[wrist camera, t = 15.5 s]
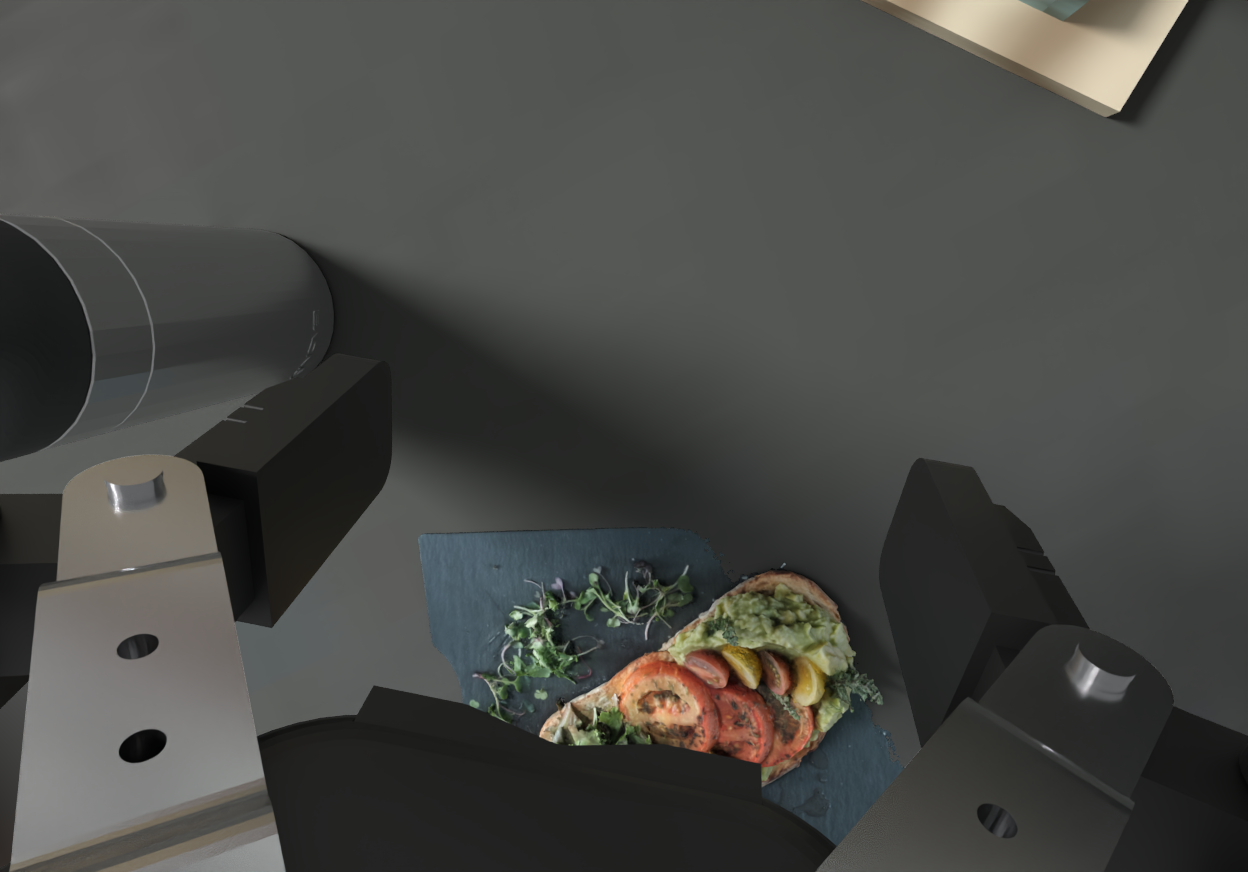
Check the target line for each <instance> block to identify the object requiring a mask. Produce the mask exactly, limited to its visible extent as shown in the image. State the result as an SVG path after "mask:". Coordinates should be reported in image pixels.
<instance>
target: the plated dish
mask: <svg viewBox="0 0 1248 872" xmlns="http://www.w3.org/2000/svg"><path fill="white" fill-rule="evenodd" d="M696 532H697V531H696ZM705 539H706V540H702V539H701V538H699V536H698V534H696V533H693V532H692V531H691V530H689V529H688V531H686V532H685V530H684V529H678V530H677V529H675V528H670V529H668V528H665V527H661V528H646V527H639V528H634V527H631V528H599V529H565V530H563V529H561V530H541V531H539V530H534V531H532V530H531V531H530V530H529V531H528V530H526V531H525V530H523V531H500V532H498V531H497V532H494V531H493V532H471V533H470V532H468V533H466V532H465V533H463V532H461V533H446V534H445V533H431V534H430V533H427V534H422V535H421V536H419V539H418V542H419V547H420V556H421V565H422V569H423V570H422V571H423V580H424V582H425V583H424V586H425V595H426V602H427V608H428V616H429V622H430V630H431V631H430V633H431V638H432V643H433V645H434V646H435V647H436V648H437V649H438V651H440V652H441V653H442V654H443V655H444V656H445V657H446V659H447V660H448V661H449V663H450V664H451V665H452V668H453V669H454V671H455V673H456V675H457V677H458V680H459V684H460V686H461V690H462V695H463V704H467V705H470V706H472V707H474V708H476V709H478V710H481V711H483V712H485V713H487V714H490V715H492V716H494V717H496V718H499V719H501V720H503V721H505V722H508V723H510V724H512V725H514V726H517V727H519V728H521V729H523V730H525V731H528V732H530V733H532V734H534V735H537V736H539V737H541V738H543V739H546V740H548V741H550V742H553V743H556V744H561V745H638V744H666V745H671V746H676V747H681V748H686V749H690V750H695V751H700V752H705V753H710V754H715V755H720V756H725V757H730V758H735V759H740V760H745V761H750V762H755V763H760V764H761V778H762V797H763V798H765V799H767V800H769V801H771V802H774V803H776V804H778V805H779V806H781V807H783V808H785V809H786V810H788V811H790V812H792V813H793V814H795V815H797V816H798V817H800V818H801V819H803V820H804V821H806V822H807V823H808V824H810V825H811V826H813V827H814V828H816V829H817V830H818V831H820V832H821V833H822V834H823V835H825V836H826V837H827V838H828V839H829V840H830V841H832V842H833V843H834V844H835V845H836V846H838V845H839V843H840V842H841V841H842V840H843V839H844V838H845V836H846V835H847V834H848V833H849V832H850V831H851V830H852V828H853V827H854V826H855V825H856V824H857V823H858V821H859V820H860V819H861V818H862V817H863V816H864V814H865V813H866V812H867V811H868V810H869V809H870V807H871V806H872V805H873V804H874V803H875V802H876V801H877V799H878V798H879V797H880V796H881V795H882V794H883V792H884V791H885V790H886V789H887V788H888V787H889V785H890V784H891V783H892V782H893V781H894V780H895V778H896V777H897V776H898V775H899V774H900V773H901V772H902V770H903V769H904V766H903V767H901V765H900V762H899V761H898V760H897V761H895V762H891V760H890V759H889V758H890V753H889V752H888V747H889V742H888V740H889V739H888V740H887V739H886V736H887V735H888V737H889V738H890V736H891V733H889V732H888V731H887V730H883V729H882V728H880V726H879V725H875V726H876V727H877V728H875V727H874V726H873V722H872V720H871V717H872V711H871V710H870V709H869V708H868V706H867V705H866V704H865V703H864V702H867V701H865V699H866V698H867V696H868V695H867V694H866V693H868V694H869V695H870V696H873V697H871V698H872V699H871V698H870V697H868V700H870V701H871V702H873V699H874V700H875V699H877V701H876V702H877V704H878V705H879V704H882V705H883V702H882V697H883V696H881V695H880V692H879V693H876V690H877V691H878V689H877V688H876V686H875V685H874V681H873V680H874V679H871V680H868V679H867V678H866V676H867V673H866V674H860V673H859V672H858V671H857V670H856V669H855V666H854V665H855V664H854V661H853V656H856V655H855V654H856V652H854V651H853V650H852V649H851V647H850V645H849V641H850V638H849V636H848V635H847V634H848V629H847V626H846V624H845V623H844V621H843V620H842V619H841V617H840V615H839V612H838V611H837V608H838V605H837V604H836V603H835V602H834V601H832V600H831V599H830V598H829V597H828V596H827V595H826V594H825V593H824V592H823V591H822V590H821V588H820V587H819V586H818V585H817V584H816V583H815V582H813V581H812V580H810V579H808V578H806V577H804V576H803V575H799V574H796V573H793V572H791V571H787V570H785V569H784V568H783V566H785V565H786V563H784V564H783V565H782V566H781V567H780V568H779V569H777V570H775V569H773V568H772V569H771V570H770V571H768V572H765V573H762V574H759V575H757V574H758V573H755V572H754V573H752V574H751V575H744V574H742V575H741V576H740V579H739V580H738V581H737V582H735V583H732V582H731V581H730V580H731V579H730V578H728V576H727V575H725V574H724V571H723V569H721V566H720V563H721V561H720V560H716V559H717V558H718V557H716V556H715V558H712V557H713V556H714V555H716V554H715V553H714V552H713V550H712V549H710V546H708V545H707V544H706V543H707V542H710V541H709V538H708V539H707V538H705ZM704 549H707V550H708V551H709V552H705V550H704ZM724 555H725V554H722V553H721V552H720V557H721V556H724ZM729 563H730V562H729ZM730 571H731V570H729V571H728V572H727V573H728V574H729V572H730ZM732 573H734V571H733V570H732ZM731 586H732V587H731ZM735 586H736V587H735ZM857 664H858V663H857ZM871 683H873V685H872V686H871ZM869 688H870V689H869ZM871 688H872V689H871ZM863 691H864V692H866V693H864V692H863ZM878 695H879V696H880V697H879V696H878ZM561 698H562V699H565V700H564V701H563V702H561V700H560V699H561ZM559 700H560V701H559ZM874 703H875V702H874ZM869 710H870V711H869ZM879 731H880V732H879ZM875 732H876V733H875ZM891 746H893V747H891ZM881 747H882V748H881ZM890 747H891V749H892V750H893V755H895V753H894V751H896V750H895V746H894V744H893V742H892V740H891V739H890ZM897 757H899V756H897ZM891 759H892V758H891ZM892 760H893V759H892ZM824 807H825V808H824Z"/></svg>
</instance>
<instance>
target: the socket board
mask: <svg viewBox="0 0 1248 872" xmlns="http://www.w3.org/2000/svg"><path fill="white" fill-rule="evenodd" d="M861 1H863V2H866V3H868V4H870V5H872V6H874V7H876V8H878V9H880V10H882V11H884V12H886V13H888V14H891V15H893V16H895V17H897V18H899V19H901V20H903V21H905V22H907V23H909V24H911V25H914V26H916V27H918V28H920V29H922V30H924V31H926V32H928V33H930V34H932V35H934V36H936V37H939V38H941V39H943V40H945V41H947V42H949V43H951V44H953V45H955V46H957V47H959V48H962V49H964V50H966V51H968V52H970V53H972V54H974V55H976V56H978V57H980V58H982V59H984V60H987V61H989V62H991V63H993V64H995V65H997V66H999V67H1001V68H1003V69H1005V70H1007V71H1010V72H1012V73H1014V74H1016V75H1018V76H1020V77H1022V78H1024V79H1026V80H1028V81H1030V82H1032V83H1035V84H1037V85H1039V86H1041V87H1043V88H1045V89H1047V90H1049V91H1051V92H1053V93H1055V94H1058V95H1060V96H1062V97H1064V98H1066V99H1068V100H1070V101H1072V102H1074V103H1076V104H1078V105H1080V106H1083V107H1085V108H1087V109H1089V110H1091V111H1093V112H1095V113H1097V114H1099V115H1101V116H1103V117H1108V116H1110V115H1113V114H1115V113H1118V112H1120V110H1121V109H1122V107H1123V105H1124V104H1125V102H1126V101H1127V99H1128V97H1129V96H1130V94H1131V93H1132V91H1133V89H1134V88H1135V86H1136V84H1137V83H1138V81H1139V80H1140V78H1141V76H1142V75H1143V73H1144V71H1145V70H1146V68H1147V67H1148V65H1149V63H1150V62H1151V60H1152V58H1153V57H1154V55H1155V54H1156V52H1157V50H1158V49H1159V47H1160V46H1161V44H1162V42H1163V41H1164V39H1165V37H1166V36H1167V34H1168V33H1169V31H1170V29H1171V28H1172V26H1173V24H1174V23H1175V21H1176V20H1177V18H1178V16H1179V15H1180V13H1181V11H1182V10H1183V8H1184V7H1185V5H1186V3H1187V2H1188V0H861Z"/></svg>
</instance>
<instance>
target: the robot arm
mask: <svg viewBox="0 0 1248 872" xmlns="http://www.w3.org/2000/svg"><path fill="white" fill-rule="evenodd" d="M333 325H334V310H333V303H332V296H331V294H330V291H329V288H328V285H327V282H326V279H325V278H324V276H323V274H322V272H321V271H320V269H319V267H318V265H317V264H316V263H315V262H314V261H313V259H312V258H311V257H310V256H309V255H308V254H307V252H306V251H304V250H303V249H302V248H301V247H299V246H298V245H297V244H296V243H294V242H293V241H291V240H289V239H287V238H285V237H283V236H281V235H279V234H277V233H273V232H269V231H265V230H258V229H242V228H227V227H214V226H199V225H183V224H167V223H151V222H135V221H119V220H102V219H86V218H70V217H54V216H32V215H15V214H0V462H2V461H5V460H9V459H13V458H17V457H20V456H24V455H28V454H31V453H34V452H38V451H42V450H46V449H49V448H53V447H57V446H61V445H64V444H68V443H72V442H76V441H79V440H83V439H87V438H90V437H94V436H97V435H101V434H105V433H109V432H112V431H116V430H120V429H124V428H128V427H131V426H135V425H139V424H143V423H147V422H150V421H154V420H158V419H162V418H165V417H169V416H173V415H177V414H181V413H184V412H188V411H192V410H196V409H200V408H203V407H207V406H211V405H215V404H219V403H222V402H226V401H230V400H234V399H238V398H241V397H245V396H250V395H253V394H257V393H259V394H258V395H256V396H255V397H253V398H252V399H251V400H249V401H248V402H247V403H245V406H244V408H242V407H240V408H239V409H237V410H236V411H234V412H233V413H232V414H230V415H229V416H228V417H227V420H226V421H224V420H222V421H221V422H220V423H218V424H217V425H216V426H214V427H213V428H211V429H210V430H209V431H207V432H206V433H205V434H203V435H202V436H201V437H199V438H198V439H197V440H195V441H194V442H192V443H191V444H190V445H188V446H187V447H186V448H184V449H183V450H182V451H180V452H179V453H178V454H176V455H175V456H168V455H137V456H129V457H123V458H119V459H114V460H110V461H107V462H104V463H101V464H98V465H96V466H93V467H91V468H89V469H87V470H85V471H83V472H81V473H80V474H78V475H77V476H75V477H74V478H73V479H72V480H71V481H70V482H69V483H68V484H67V486H66V487H65V489H64V492H63V494H0V709H1V707H3V706H4V705H5V704H6V702H7V701H8V700H10V699H11V698H12V697H13V696H14V695H15V694H16V693H17V691H19V690H20V689H21V688H22V687H23V686H24V685H25V684H26V683H27V682H28V681H29V686H28V696H27V706H26V716H25V726H24V736H23V746H22V757H21V766H20V777H19V786H18V797H17V807H16V817H15V827H14V837H13V847H12V857H11V863H9V864H7V865H5V866H3V867H1V868H0V872H1248V736H1247V735H1244V734H1242V733H1239V732H1237V731H1234V730H1231V729H1229V728H1226V727H1224V726H1221V725H1219V724H1216V723H1214V722H1211V721H1209V720H1206V719H1203V718H1201V717H1198V716H1196V715H1193V714H1191V713H1188V712H1186V711H1183V710H1181V709H1179V708H1177V707H1174V706H1173V705H1174V695H1173V692H1172V690H1171V687H1170V685H1169V684H1168V682H1167V681H1166V679H1165V678H1164V677H1163V675H1162V674H1161V673H1160V672H1159V671H1158V670H1157V669H1156V668H1155V667H1154V666H1153V665H1152V664H1151V663H1150V662H1149V661H1148V660H1146V659H1145V658H1144V657H1143V656H1141V655H1140V654H1139V653H1137V652H1136V651H1134V650H1133V649H1131V648H1130V647H1128V646H1126V645H1125V644H1123V643H1121V642H1119V641H1117V640H1115V639H1113V638H1111V637H1109V636H1107V635H1104V634H1102V633H1099V632H1097V631H1094V630H1090V629H1089V627H1088V625H1087V623H1086V622H1085V620H1084V618H1083V617H1082V615H1081V613H1080V612H1079V610H1078V608H1077V607H1076V605H1075V603H1074V601H1073V600H1072V598H1071V596H1070V595H1069V593H1068V591H1067V590H1066V588H1065V586H1064V585H1063V583H1062V581H1061V579H1060V578H1059V576H1055V569H1054V568H1053V566H1052V564H1051V563H1050V561H1049V559H1048V557H1047V556H1043V554H1044V551H1043V549H1042V547H1041V546H1040V544H1039V542H1038V541H1037V539H1036V537H1035V536H1034V534H1033V532H1032V530H1031V529H1030V528H1029V527H1028V526H1027V525H1026V524H1024V523H1023V522H1022V521H1021V520H1020V519H1019V518H1017V517H1016V516H1015V515H1014V514H1013V513H1012V512H1010V511H1009V510H1008V509H1007V508H1006V507H1005V506H1001V505H996V504H993V503H992V501H991V499H990V497H989V495H988V493H987V492H986V490H985V488H984V486H983V484H982V482H981V481H980V479H979V477H978V475H977V473H976V471H975V470H974V469H973V468H972V467H968V466H963V465H957V464H952V463H946V462H940V461H935V460H929V459H924V458H919V459H917V460H916V461H915V462H914V464H913V466H912V467H911V469H910V472H909V474H908V477H907V480H906V483H905V486H904V488H903V491H902V494H901V497H900V500H899V503H898V506H897V508H896V511H895V514H894V517H893V520H892V523H891V525H890V528H889V531H888V534H887V537H886V540H885V543H884V546H883V550H882V554H881V560H880V568H879V580H880V587H881V591H882V595H883V599H884V603H885V607H886V611H887V615H888V619H889V623H890V627H891V631H892V634H893V638H894V642H895V646H896V650H897V654H898V658H899V662H900V666H901V670H902V674H903V678H904V682H905V685H906V689H907V693H908V697H909V701H910V705H911V709H912V713H913V717H914V721H915V725H916V729H917V732H918V736H919V740H920V744H921V750H920V751H919V752H918V753H917V754H916V755H915V756H914V758H913V759H912V760H911V761H910V762H909V763H908V765H907V766H906V767H905V768H904V769H903V770H902V772H901V773H900V774H899V775H898V776H897V777H896V778H895V780H894V781H893V782H892V783H891V784H890V785H889V787H888V788H887V789H886V790H885V791H884V792H883V794H882V795H881V796H880V797H879V798H878V799H877V801H876V802H875V803H874V804H873V805H872V806H871V807H870V809H869V810H868V811H867V812H866V813H865V814H864V816H863V817H862V818H861V819H860V820H859V821H858V823H857V824H856V825H855V826H854V827H853V828H852V830H851V831H850V832H849V833H848V834H847V835H846V836H845V838H844V839H843V840H842V841H841V842H840V843H839V845H838V846H836V845H835V844H834V843H833V842H832V841H830V840H829V839H828V838H827V837H826V836H825V835H823V834H822V833H821V832H820V831H818V830H817V829H816V828H814V827H813V826H811V825H810V824H808V823H807V822H806V821H804V820H803V819H801V818H800V817H798V816H797V815H795V814H793V813H792V812H790V811H788V810H786V809H785V808H783V807H781V806H779V805H778V804H776V803H774V802H771V801H769V800H767V799H765V798H763V797H762V778H761V764H760V763H755V762H750V761H745V760H740V759H735V758H730V757H725V756H720V755H715V754H710V753H705V752H700V751H695V750H690V749H686V748H681V747H676V746H671V745H666V744H638V745H561V744H556V743H553V742H550V741H548V740H546V739H543V738H541V737H539V736H537V735H534V734H532V733H530V732H528V731H525V730H523V729H521V728H519V727H517V726H514V725H512V724H510V723H508V722H505V721H503V720H501V719H499V718H496V717H494V716H492V715H490V714H487V713H485V712H483V711H481V710H478V709H476V708H474V707H472V706H470V705H467V704H463V703H458V702H453V701H448V700H443V699H438V698H433V697H428V696H423V695H418V694H413V693H408V692H403V691H398V690H393V689H388V688H383V687H379V686H373V688H372V690H371V691H370V693H369V695H368V697H367V699H366V700H365V702H364V704H363V706H362V707H361V709H360V711H359V713H358V714H357V715H343V716H334V717H325V718H318V719H314V720H309V721H304V722H299V723H295V724H292V725H288V726H285V727H282V728H279V729H275V730H272V731H270V732H267V733H265V734H262V735H260V736H256V730H255V725H254V720H253V715H252V710H251V705H250V700H249V695H248V689H247V684H246V679H245V674H244V669H243V664H242V659H241V653H240V648H239V643H238V638H237V633H236V628H235V622H236V621H240V622H245V623H250V624H255V625H260V626H265V627H270V628H272V627H273V626H274V625H275V623H276V622H277V621H278V620H279V618H280V617H281V616H282V615H283V613H284V612H285V611H286V609H287V608H288V607H289V606H290V604H291V603H292V602H293V601H294V599H295V598H296V597H297V596H298V594H299V593H300V592H301V591H302V589H303V588H304V587H305V586H306V584H307V583H308V582H309V581H310V579H311V578H312V577H313V576H314V574H315V573H316V572H317V570H318V569H319V568H320V567H321V565H322V564H323V563H324V562H325V560H326V559H327V558H328V557H329V555H330V554H331V553H332V552H333V550H334V549H335V548H336V547H337V545H338V544H339V543H340V542H341V540H342V539H343V538H344V536H345V535H346V534H347V533H348V531H349V530H350V529H351V528H352V526H353V525H354V524H355V523H356V521H357V520H358V519H359V518H360V516H361V515H362V514H363V513H364V511H365V510H366V509H367V508H368V506H369V505H370V504H371V503H372V501H373V500H374V499H375V497H376V496H377V495H378V494H379V492H380V491H381V490H382V488H383V486H384V484H385V482H386V479H387V476H388V473H389V469H390V464H391V457H392V395H391V372H390V368H389V366H388V364H387V363H386V362H385V361H379V360H373V359H368V358H362V357H356V356H351V355H345V354H340V353H336V354H334V355H332V356H331V357H329V358H328V359H327V360H326V361H324V362H323V363H322V364H320V365H319V366H318V367H317V365H318V364H319V363H320V362H321V361H322V359H323V357H324V355H325V353H326V351H327V349H328V347H329V345H330V341H331V337H332V333H333ZM316 367H317V368H316Z"/></svg>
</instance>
